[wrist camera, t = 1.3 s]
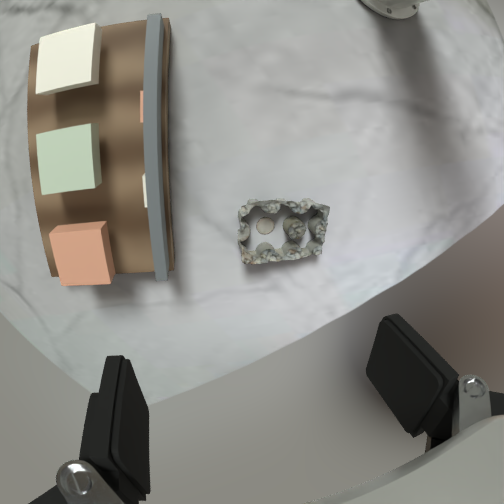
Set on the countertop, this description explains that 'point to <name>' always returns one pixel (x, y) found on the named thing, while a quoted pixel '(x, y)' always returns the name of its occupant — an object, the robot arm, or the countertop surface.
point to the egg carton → (290, 226)
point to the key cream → (68, 59)
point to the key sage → (69, 159)
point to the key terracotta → (83, 253)
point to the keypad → (116, 147)
